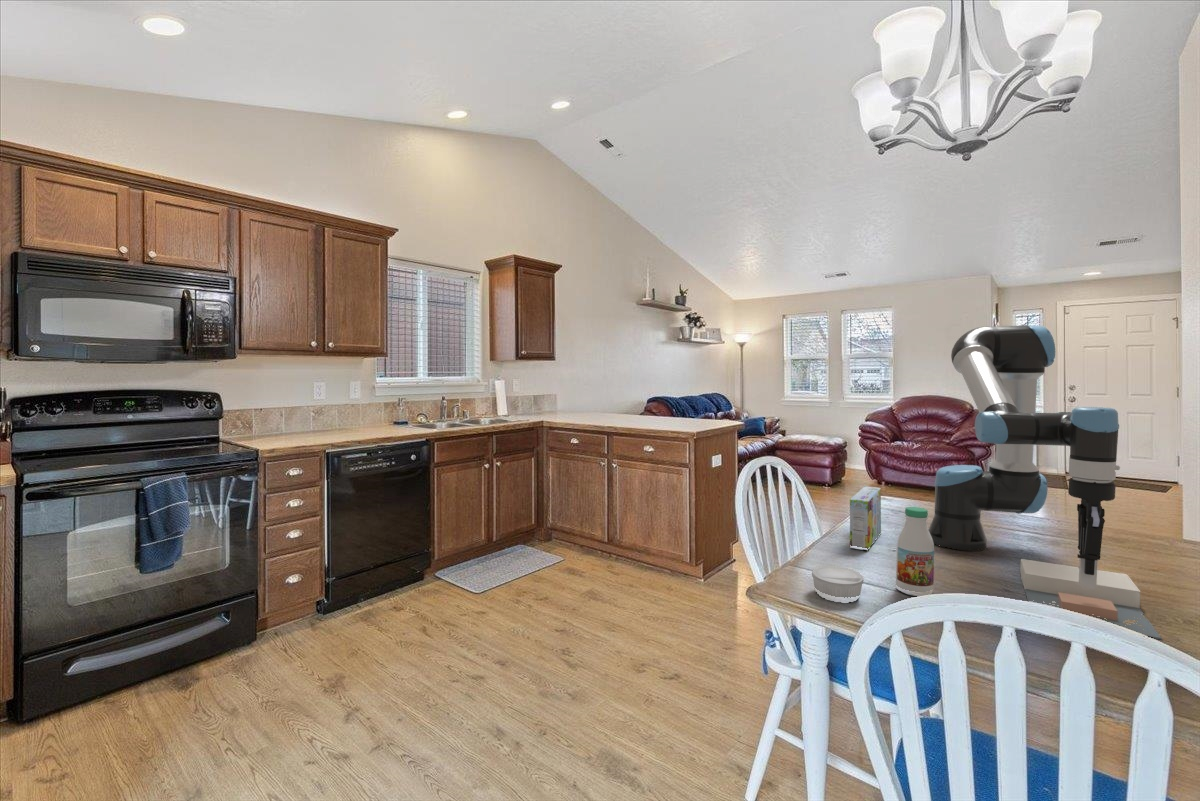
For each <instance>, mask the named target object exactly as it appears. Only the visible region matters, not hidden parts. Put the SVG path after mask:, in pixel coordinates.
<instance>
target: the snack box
mask: <svg viewBox="0 0 1200 801" xmlns="http://www.w3.org/2000/svg"><path fill="white" fill-rule="evenodd" d="M881 497H882V488H881V487H877V486H875V487H874V486H867V485H866V486H863V487H862V488H860V490H858V491H857V493H855V494H854V495H853V496H852V497H851V498H850V499H849V546H850V545H851V546H857V547H862V548H867V549H868V548H869V547H870V546H871V545H872V543H873V542H874V541H875V539H876V538H877V537H878V536H879V534H880V533H881V534H882V507H881V506H882V505H881V504H882V498H881ZM881 534H880V535H881ZM879 537H880V536H879ZM879 537H878V538H879ZM878 538H877V539H878ZM875 542H876V541H875ZM875 542H874V543H875ZM872 546H873V545H872Z"/></svg>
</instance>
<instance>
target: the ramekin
mask: <svg viewBox="0 0 1200 801" xmlns="http://www.w3.org/2000/svg"><path fill="white" fill-rule="evenodd" d="M811 577H812V579H813V580H812V582H813V586H814V587H815V588H816V589H817V590H819V591H820V592H822V593H825V594H828V595H831V596H835V597H844V598H845V597H847V598H848V597H850V598H851V597H856V596H859V595H860V596H861V594H862V593H861V592H862V588H863V584H864V580H865V579H864V576H863V575H862V574H861V573H860V572H858V571H856V570H854V569H851V568H848V567H845V566H844V567H843V566H838V565H837V566H836V565H820V566H817V567H815V568H813V569H812V571H811ZM814 587H813V588H814ZM815 588H814V589H815Z"/></svg>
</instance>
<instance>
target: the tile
mask: <svg viewBox="0 0 1200 801" xmlns="http://www.w3.org/2000/svg"><path fill="white" fill-rule="evenodd" d="M1057 601H1058V603H1059V606H1060V608H1063V609H1067V610H1070V611H1074V612H1078V613H1082V614H1086V615H1090V616H1095V617H1097V616H1100V617H1101V618H1106V619H1112V620H1117V614H1118V611H1117V609H1116V608H1115V606H1114V605H1113V603H1112V601H1109V600H1103V599H1097V598H1091V597H1085V596H1079V595H1073V594H1067V593H1061V592H1058V598H1057ZM1092 614H1094V615H1092Z"/></svg>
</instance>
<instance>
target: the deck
mask: <svg viewBox="0 0 1200 801" xmlns="http://www.w3.org/2000/svg"><path fill="white" fill-rule="evenodd" d="M1019 574H1020V579H1021V578H1022V579H1021V582H1022V585H1023V588H1024V590H1025V589H1029V590H1035V591H1041V592H1047V593H1053V594H1058V592H1061V593H1067V594H1073V595H1079V596H1085V597H1091V598H1097V599H1103V600H1109V601H1112V603H1113V604H1118V605H1124V606H1130V607H1136V608H1140V607H1141V606H1140V605H1141V590H1140V589H1139V588H1138V586H1137V585H1136V584H1135V583H1134V581H1133V580H1132V579H1131V578H1130V576H1129V575H1128V574H1127V573H1121V572H1115V571H1113V572H1112V571H1107V570H1100V569H1097V584H1096V590H1093V589H1087V588H1081V587H1079V567H1078V566H1073V565H1072V566H1071V565H1067V564H1066V565H1065V564H1059V563H1053V562H1044V561H1038V560H1033V559H1032V560H1031V559H1025V558H1021V559H1020V573H1019ZM1140 609H1141V608H1140Z"/></svg>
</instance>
